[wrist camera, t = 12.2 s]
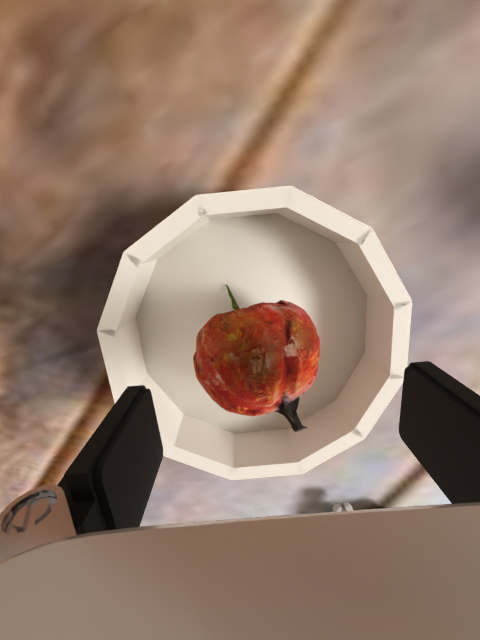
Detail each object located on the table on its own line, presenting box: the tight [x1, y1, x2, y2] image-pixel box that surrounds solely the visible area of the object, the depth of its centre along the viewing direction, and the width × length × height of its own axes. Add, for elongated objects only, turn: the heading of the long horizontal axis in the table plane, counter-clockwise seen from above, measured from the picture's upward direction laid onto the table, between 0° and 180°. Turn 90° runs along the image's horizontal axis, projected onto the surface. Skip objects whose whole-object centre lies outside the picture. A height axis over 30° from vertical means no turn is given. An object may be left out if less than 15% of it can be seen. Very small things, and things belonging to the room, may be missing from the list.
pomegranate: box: [193, 284, 320, 432], centre depth 17 cm, size 7×7×10 cm
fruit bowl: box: [97, 186, 412, 480], centre depth 19 cm, size 18×18×4 cm
